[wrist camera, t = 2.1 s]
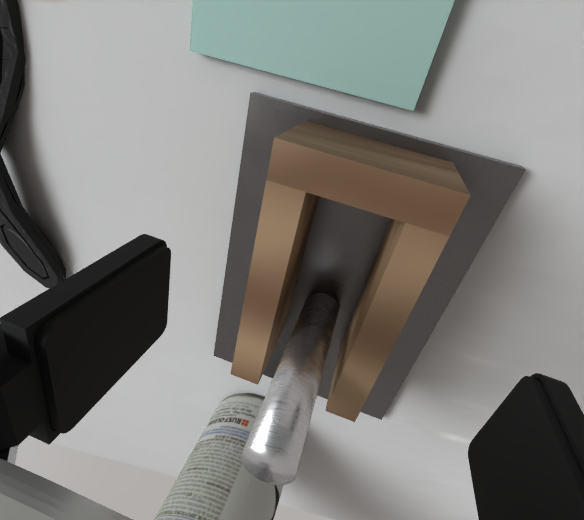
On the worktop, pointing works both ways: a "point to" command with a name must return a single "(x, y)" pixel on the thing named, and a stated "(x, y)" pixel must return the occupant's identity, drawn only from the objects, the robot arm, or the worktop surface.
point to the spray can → (222, 471)
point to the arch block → (388, 264)
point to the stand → (338, 280)
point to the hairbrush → (3, 197)
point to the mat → (328, 41)
